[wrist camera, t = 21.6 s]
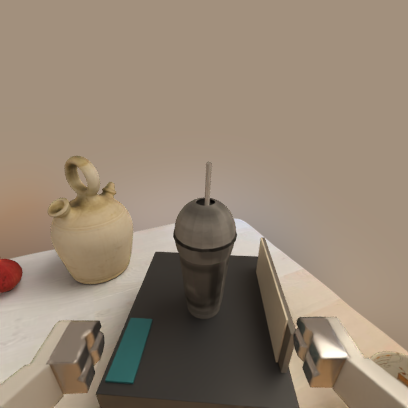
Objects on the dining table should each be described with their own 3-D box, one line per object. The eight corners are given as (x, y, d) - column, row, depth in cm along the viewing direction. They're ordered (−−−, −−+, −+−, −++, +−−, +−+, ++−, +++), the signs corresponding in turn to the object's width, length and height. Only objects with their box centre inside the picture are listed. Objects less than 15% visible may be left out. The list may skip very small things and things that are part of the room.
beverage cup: (221, 281, 34) (229, 150, 26) (238, 322, 28) (255, 167, 20) (174, 288, 33) (166, 153, 25) (180, 334, 26) (172, 171, 18)
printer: (107, 437, 25) (75, 349, 18) (157, 288, 45) (150, 220, 38) (283, 454, 24) (316, 366, 17) (254, 293, 44) (264, 224, 37)
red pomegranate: (15, 301, 41) (-1, 267, 38) (-19, 303, 41) (-38, 269, 37) (33, 278, 47) (21, 247, 43) (4, 280, 46) (-12, 248, 43)
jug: (78, 304, 41) (37, 173, 30) (54, 264, 51) (18, 154, 40) (150, 266, 51) (138, 156, 40) (118, 238, 61) (102, 145, 50)
